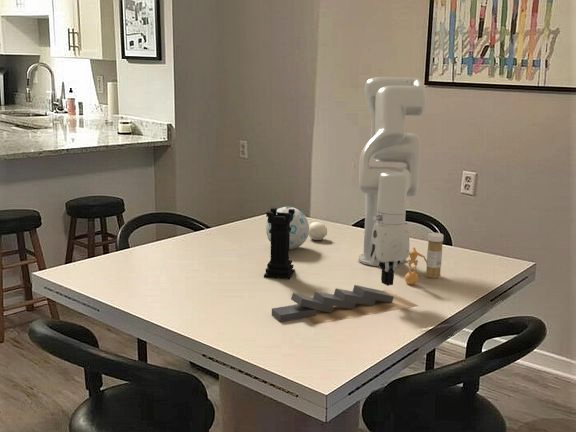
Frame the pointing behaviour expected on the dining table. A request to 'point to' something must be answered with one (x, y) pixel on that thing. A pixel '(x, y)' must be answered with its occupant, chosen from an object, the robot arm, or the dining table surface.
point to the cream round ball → (317, 231)
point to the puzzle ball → (294, 228)
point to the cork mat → (361, 309)
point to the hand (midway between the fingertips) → (387, 283)
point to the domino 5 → (373, 293)
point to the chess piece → (280, 245)
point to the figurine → (412, 277)
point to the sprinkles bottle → (434, 255)
